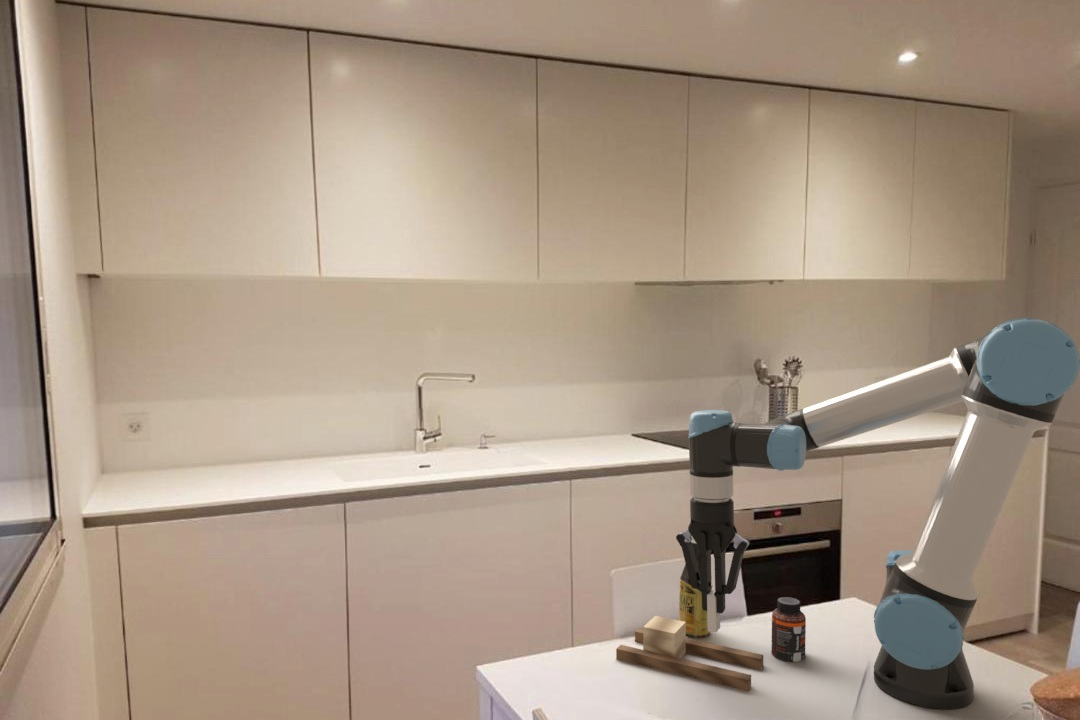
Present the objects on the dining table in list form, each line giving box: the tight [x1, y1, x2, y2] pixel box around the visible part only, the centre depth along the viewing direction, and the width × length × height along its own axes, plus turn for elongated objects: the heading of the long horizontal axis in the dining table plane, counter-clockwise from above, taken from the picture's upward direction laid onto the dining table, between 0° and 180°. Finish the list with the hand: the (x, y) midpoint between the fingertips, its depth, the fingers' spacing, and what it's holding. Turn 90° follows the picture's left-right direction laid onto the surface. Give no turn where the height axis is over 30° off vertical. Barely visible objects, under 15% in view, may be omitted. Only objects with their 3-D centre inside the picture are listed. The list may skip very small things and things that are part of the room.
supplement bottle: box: [771, 596, 807, 663], centre depth 134 cm, size 6×6×11 cm
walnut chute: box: [615, 627, 764, 692], centre depth 131 cm, size 24×12×3 cm, turn 60°
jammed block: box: [642, 615, 687, 659], centre depth 134 cm, size 6×6×6 cm
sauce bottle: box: [678, 537, 713, 639], centre depth 144 cm, size 7×6×20 cm
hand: (714, 629), depth 129 cm, fingers closed
